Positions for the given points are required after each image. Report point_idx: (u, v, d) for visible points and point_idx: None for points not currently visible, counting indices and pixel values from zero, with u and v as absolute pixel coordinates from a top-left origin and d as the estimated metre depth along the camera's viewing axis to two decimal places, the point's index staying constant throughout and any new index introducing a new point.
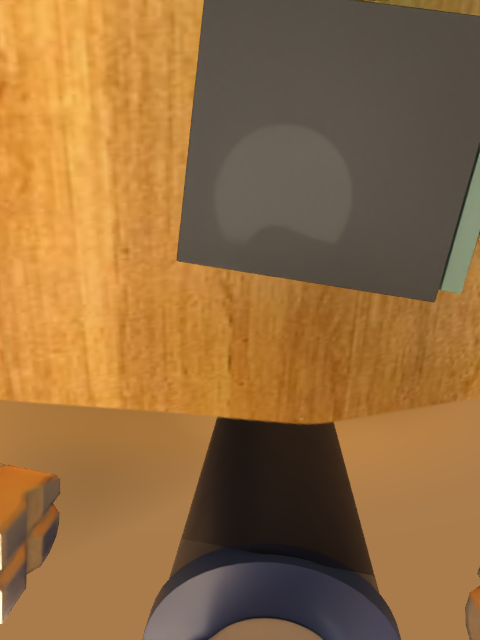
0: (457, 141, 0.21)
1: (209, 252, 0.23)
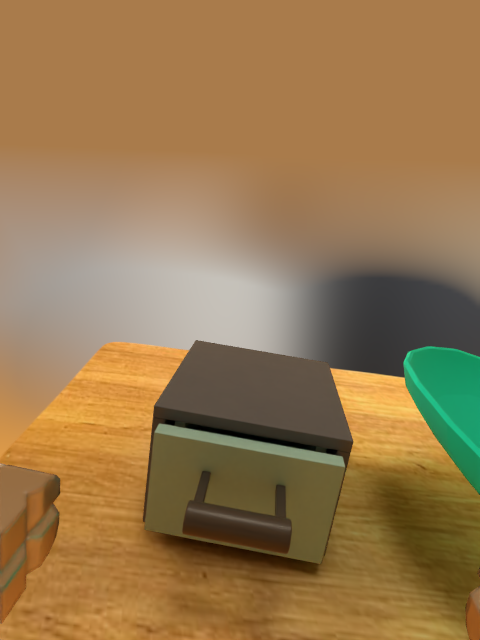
0: (273, 418, 0.29)
1: (199, 346, 0.41)
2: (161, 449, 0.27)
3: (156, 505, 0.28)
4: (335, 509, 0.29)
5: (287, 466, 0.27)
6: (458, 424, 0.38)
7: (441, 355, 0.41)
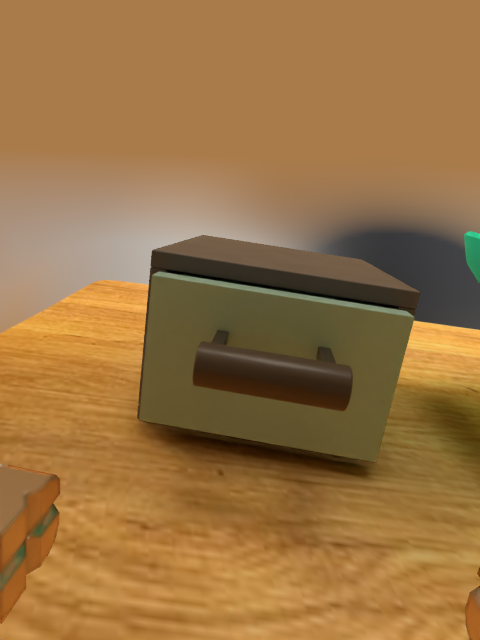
0: (309, 272, 0.22)
1: (207, 237, 0.34)
2: (161, 300, 0.20)
3: (155, 384, 0.21)
4: None
5: (334, 318, 0.20)
6: None
7: None
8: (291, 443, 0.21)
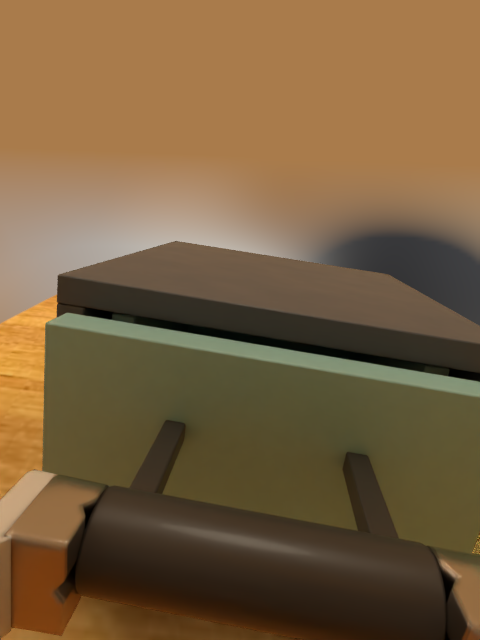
0: (327, 310, 0.13)
1: (180, 244, 0.25)
2: (65, 367, 0.11)
3: None
4: None
5: (376, 404, 0.11)
6: None
7: None
8: None
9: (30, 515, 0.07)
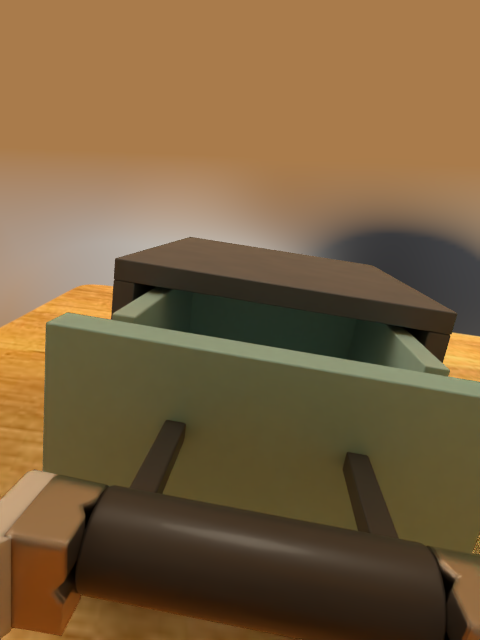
0: (315, 285, 0.17)
1: (195, 240, 0.29)
2: (65, 367, 0.11)
3: None
4: None
5: (376, 404, 0.11)
6: None
7: None
8: None
9: (30, 515, 0.07)
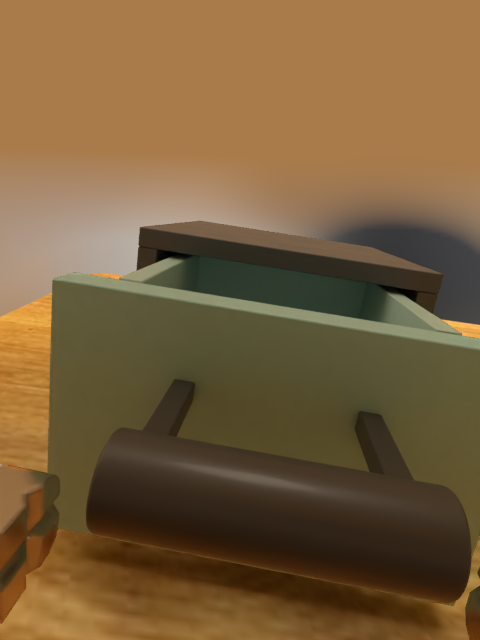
0: (317, 252, 0.19)
1: (205, 222, 0.31)
2: (72, 325, 0.11)
3: (69, 468, 0.12)
4: None
5: (389, 361, 0.10)
6: None
7: None
8: None
9: None
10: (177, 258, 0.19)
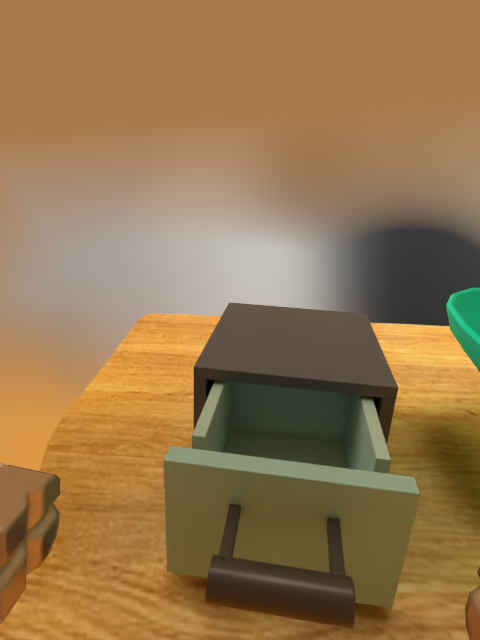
0: (313, 371, 0.29)
1: (233, 308, 0.41)
2: (175, 480, 0.21)
3: (177, 544, 0.23)
4: None
5: (340, 495, 0.20)
6: None
7: None
8: None
9: None
10: (219, 382, 0.29)
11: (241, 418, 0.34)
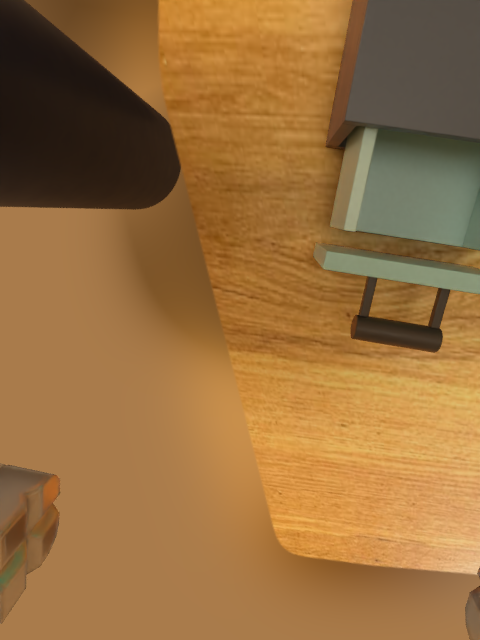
0: None
1: None
2: None
3: None
4: None
5: None
6: None
7: None
8: None
9: None
10: None
11: None
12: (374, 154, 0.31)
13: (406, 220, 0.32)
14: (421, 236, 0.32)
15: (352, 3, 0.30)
